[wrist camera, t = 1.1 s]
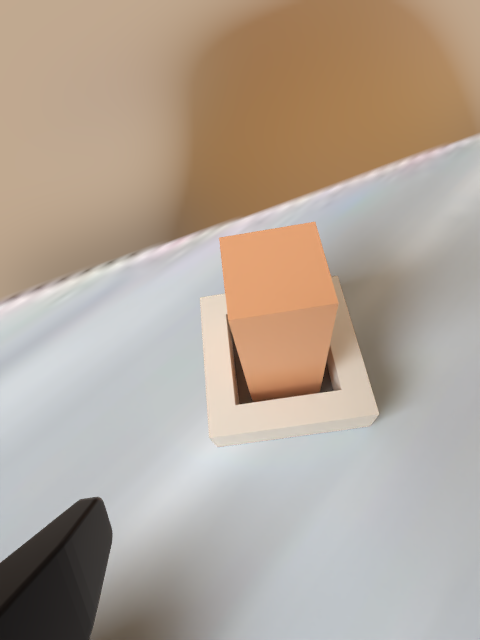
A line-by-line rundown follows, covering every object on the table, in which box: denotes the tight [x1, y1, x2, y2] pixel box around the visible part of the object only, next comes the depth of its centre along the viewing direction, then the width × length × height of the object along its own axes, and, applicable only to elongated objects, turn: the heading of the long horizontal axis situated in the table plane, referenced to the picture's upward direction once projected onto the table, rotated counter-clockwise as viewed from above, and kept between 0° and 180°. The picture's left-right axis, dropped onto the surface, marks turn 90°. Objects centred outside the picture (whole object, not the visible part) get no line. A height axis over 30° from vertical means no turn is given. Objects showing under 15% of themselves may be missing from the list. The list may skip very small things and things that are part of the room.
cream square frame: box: [200, 276, 379, 447], centre depth 22 cm, size 9×9×2 cm
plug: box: [219, 222, 339, 402], centre depth 19 cm, size 4×4×10 cm
